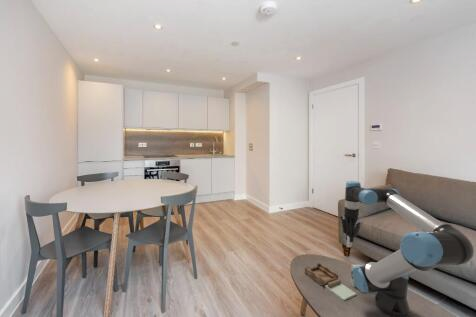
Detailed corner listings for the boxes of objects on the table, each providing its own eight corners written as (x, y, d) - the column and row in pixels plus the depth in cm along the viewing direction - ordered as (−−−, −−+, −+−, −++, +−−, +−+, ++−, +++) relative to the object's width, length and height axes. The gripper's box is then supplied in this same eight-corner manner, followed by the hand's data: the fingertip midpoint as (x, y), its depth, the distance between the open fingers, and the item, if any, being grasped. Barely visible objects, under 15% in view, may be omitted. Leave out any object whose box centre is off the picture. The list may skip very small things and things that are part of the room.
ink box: (364, 283, 135) (365, 264, 134) (368, 288, 131) (369, 269, 130) (349, 282, 136) (351, 263, 135) (353, 287, 131) (354, 268, 130)
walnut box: (338, 281, 137) (338, 274, 136) (322, 287, 131) (323, 280, 131) (319, 268, 150) (319, 262, 150) (304, 273, 144) (305, 267, 144)
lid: (356, 296, 125) (356, 289, 124) (343, 301, 120) (344, 295, 120) (337, 283, 136) (337, 277, 136) (325, 288, 131) (325, 282, 131)
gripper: (366, 210, 125) (363, 250, 127) (346, 204, 137) (343, 240, 139) (357, 211, 122) (355, 252, 124) (337, 205, 133) (335, 243, 135)
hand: (349, 246), depth 131 cm, fingers closed
